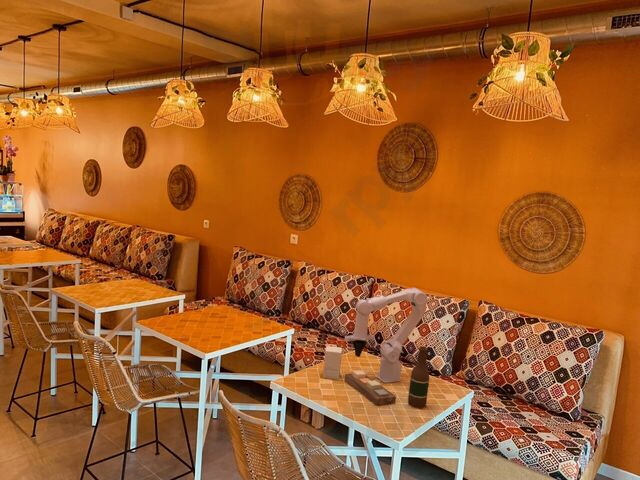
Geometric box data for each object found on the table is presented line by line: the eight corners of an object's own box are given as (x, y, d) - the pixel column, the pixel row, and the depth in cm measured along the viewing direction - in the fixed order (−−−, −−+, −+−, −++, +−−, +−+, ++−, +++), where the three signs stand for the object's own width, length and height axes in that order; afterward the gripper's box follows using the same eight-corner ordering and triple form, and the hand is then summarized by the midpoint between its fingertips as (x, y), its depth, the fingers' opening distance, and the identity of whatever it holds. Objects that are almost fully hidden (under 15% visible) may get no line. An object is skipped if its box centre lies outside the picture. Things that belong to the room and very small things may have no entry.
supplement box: (339, 374, 222) (342, 347, 221) (338, 380, 215) (341, 352, 214) (323, 372, 223) (326, 345, 222) (322, 378, 216) (325, 350, 214)
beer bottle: (422, 410, 192) (429, 352, 190) (404, 404, 196) (410, 347, 194) (428, 404, 199) (436, 347, 196) (411, 398, 203) (417, 343, 200)
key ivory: (360, 375, 216) (360, 370, 216) (365, 379, 212) (365, 373, 212) (351, 376, 214) (352, 370, 214) (356, 379, 210) (357, 374, 210)
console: (361, 378, 219) (362, 372, 219) (395, 403, 196) (396, 396, 196) (344, 380, 215) (345, 374, 215) (376, 406, 192) (377, 398, 192)
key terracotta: (366, 383, 211) (367, 378, 211) (372, 387, 207) (373, 381, 207) (358, 384, 209) (358, 378, 209) (363, 388, 205) (364, 382, 205)
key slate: (382, 394, 201) (382, 389, 200) (388, 399, 197) (389, 393, 196) (373, 395, 199) (374, 390, 198) (379, 400, 195) (380, 394, 194)
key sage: (374, 385, 206) (375, 380, 206) (380, 390, 202) (381, 384, 202) (366, 386, 204) (366, 381, 204) (371, 391, 200) (372, 385, 200)
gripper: (351, 329, 210) (348, 360, 211) (379, 329, 216) (375, 358, 218) (343, 325, 216) (340, 354, 217) (371, 324, 223) (367, 353, 224)
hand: (357, 356), depth 218 cm, fingers closed
